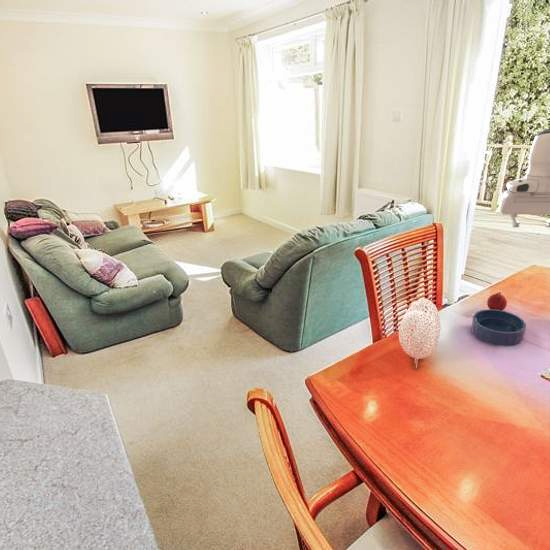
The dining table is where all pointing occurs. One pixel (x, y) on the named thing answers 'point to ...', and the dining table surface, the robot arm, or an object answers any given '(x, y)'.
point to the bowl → (498, 327)
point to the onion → (497, 302)
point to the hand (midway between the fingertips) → (531, 227)
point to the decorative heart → (420, 329)
